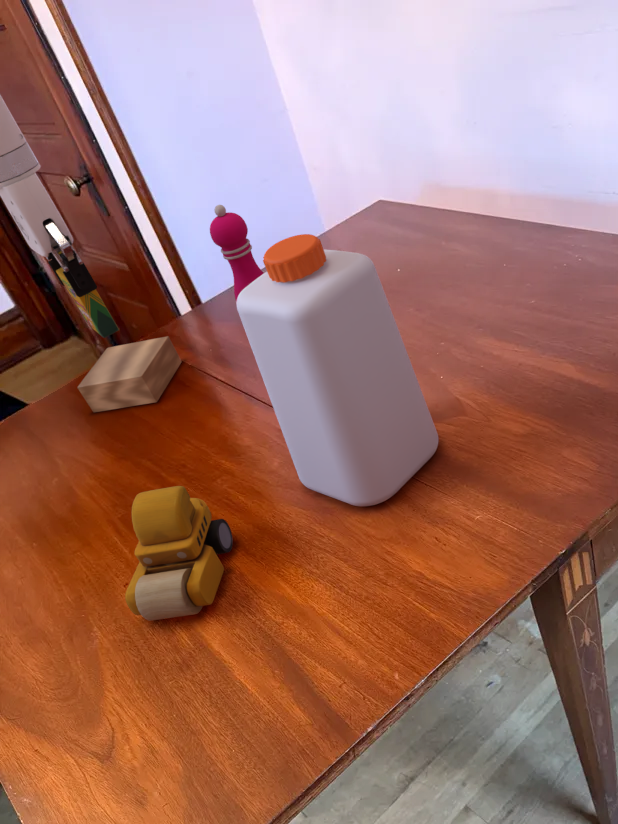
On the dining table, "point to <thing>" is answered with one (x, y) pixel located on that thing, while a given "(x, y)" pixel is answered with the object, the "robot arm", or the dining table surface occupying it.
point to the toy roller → (175, 554)
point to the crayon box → (92, 309)
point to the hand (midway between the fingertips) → (79, 286)
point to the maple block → (130, 374)
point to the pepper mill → (235, 247)
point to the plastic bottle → (337, 371)
